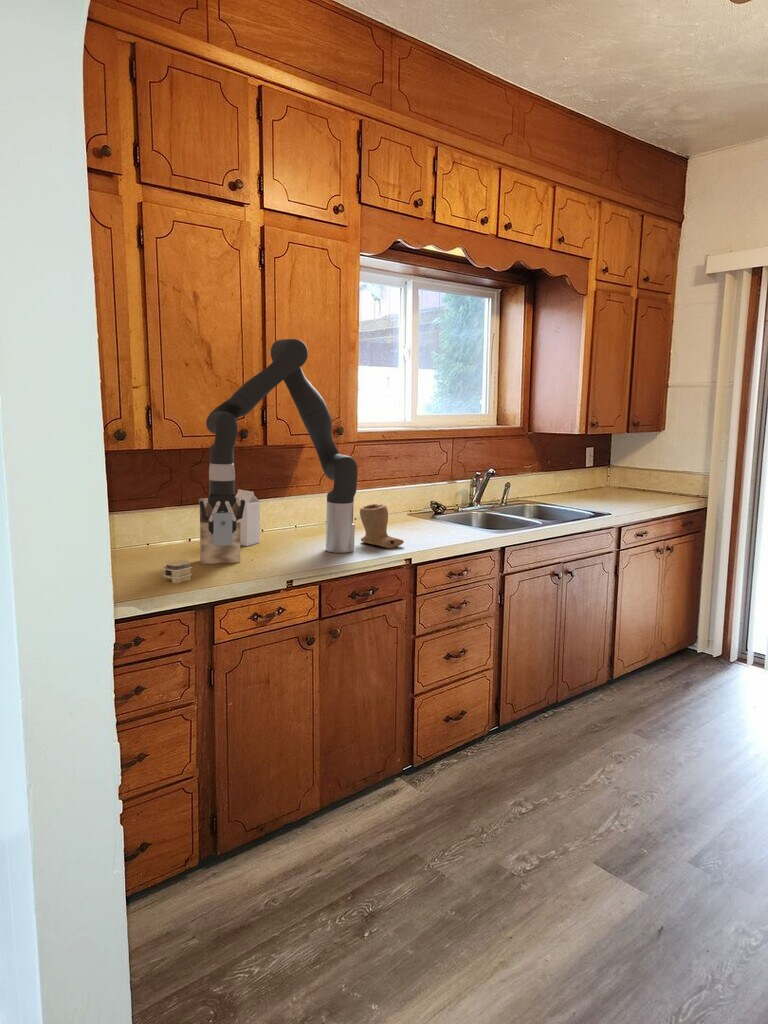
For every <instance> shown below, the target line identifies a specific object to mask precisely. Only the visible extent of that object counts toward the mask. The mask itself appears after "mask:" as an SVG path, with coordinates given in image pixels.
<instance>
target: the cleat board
mask: <svg viewBox="0 0 768 1024" xmlns="http://www.w3.org/2000/svg"><path fill="white" fill-rule="evenodd" d="M205 499H208V497H206V498H201V497H200V498H199V500H205ZM236 499H239V498H236ZM211 508H212V506H211V505H210V504H209V502H208V503H207V506H206V507H205V512H206V516H209V515H210V512H211ZM232 510H233V512H234V515H238V510H239V506H238V504H237V502H236V503H235V504H234V505H233V507H232ZM199 545H200V546H199V547H200V548H199V551H200V553H199V554H200V560H199V561H200V564H201V565H210V564H211V565H213V564H231V563H233V564H235V563H241V545H240V521H239V519H238V520H237V521H236V531H234V533H232V545H225V546H214V545H213V542H212V534H211V532H209V529H208V521H207V520H203V518H202V514H201V510H200V509H199Z"/></svg>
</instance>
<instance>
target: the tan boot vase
mask: <svg viewBox="0 0 768 1024" xmlns="http://www.w3.org/2000/svg"><path fill="white" fill-rule="evenodd" d="M359 509H360V510H359V516H360V519H361V523H362V525H363V528H364V531H365V535H364V536H363V537H361V538H360V541H361V542H363V543H366V544H370V545H374V546H377V547H381V548H382V547H383V548H387V549H393V548H397V547H400V546H401V545H403V544H404V543H405V542H404V540H403V539H400V538H397V537H392V536H390V535H388V533H387V529H388V521H389V510H388V507H387V506H386V504H385V503H381V504H377V503H372V504H367V505H364V506H361V507H360V508H359Z"/></svg>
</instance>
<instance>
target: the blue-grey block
mask: <svg viewBox="0 0 768 1024" xmlns="http://www.w3.org/2000/svg"><path fill="white" fill-rule="evenodd" d="M211 510H212V508H211ZM212 542H213V545H214V546H225V545H232V513H229V511H228V512H224V511H221V512H216V513H214V514H213V534H212Z"/></svg>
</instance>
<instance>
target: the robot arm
mask: <svg viewBox="0 0 768 1024" xmlns="http://www.w3.org/2000/svg"><path fill="white" fill-rule="evenodd" d="M308 356H309V350H308V347H307V345H306V344H305V342H303V341H302V340H300V339H298V338H283V339H277V340H276V341H275V342H273V343H272V345H271V347H270V358H271V361H272V362H271V363H270V364H268V366H266V367H265V368H264V369H263V370H261V371H259V372H258V373H256V374H255V375H254V376H252V377H251V378H250V379H249V380H247V381H245V382H244V384H242V385H241V386H240V387H239V388H238V389H237V390H236V391H235V392H234V393H233V394H232V396H231V397H230V398H228V399H226V400H225V401H224V402H222V403H221V404H220V405H218V406H217V407H216V408H214V409H213V410H212V411H211V412H209V414H208V416H207V418H206V421H205V426H206V429H207V430H208V431H209V432H210V433H212V434H214V435H215V438H214V443H213V444H211V446H210V448H209V468H208V474H209V475H208V480H209V481H208V485H209V486H208V487H209V489H208V491H209V492H208V493H209V494H208V497H207V498H208V499H205V500H200V499H199V500H198V504H199V511H200V510H201V514H202V518H203V520H207V521H208V529H209V532H211V534H213V514H214V513H216V512H221V511H224V512H228V511H229V513H232V533H234V531H236V521H237V520H238V519H242V516H243V511H244V506H245V500H244V499H236V497H235V496H236V490H235V489H236V488H235V487H236V472H235V470H236V469H235V451H234V450H235V446H236V445H235V444H236V441H237V437H238V428H239V424H238V421H237V420H238V419H239V418H241V417H243V416H247V415H248V414H249V413H250V412H252V410H253V409H254V408H255V407H256V406H257V405H258V404H259V403H260V402H261V401H262V400H263V399H264V398H265V397H266V396H267V395H268V394H269V393H270V392H271V391H272V390H273V389H274V388H276V387H277V386H278V385H279V384H280V383H281V382H284V384H285V386H286V388H287V390H288V392H289V395H290V396H291V398H292V400H293V402H294V405H295V406H296V409H297V413H298V414H299V417H300V419H301V421H302V423H303V424H304V427H305V429H306V430H307V433H308V435H309V438H310V440H311V442H312V443H313V446H314V449H315V451H316V454H317V456H318V459H319V462H320V466H321V468H322V471H323V473H324V475H325V476H326V478H328V479H329V480H331V481H333V489H332V490H331V491H329V492H327V494H326V514H325V516H326V520H325V521H326V522H325V523H326V526H325V551H327V552H329V553H333V554H334V553H335V554H347V553H350V552H355V527H356V525H355V524H354V505H355V504H354V499H355V496H356V493H357V487H358V485H357V484H358V474H359V473H358V471H359V470H358V469H359V468H358V464H357V461H356V459H355V458H353V457H352V456H350V455H346V454H341V453H340V451H339V450H338V448H337V445H336V444H335V441H334V439H333V421H332V420H333V419H332V416H331V412H330V411H329V408H328V406H327V403H326V402H325V400H324V398H323V396H322V395H321V394H320V392H319V391H318V390H317V389H316V388H315V387H314V385H312V383H311V382H310V381H309V380H308V378H307V377H306V376H305V373H304V372H303V369H302V367H303V366H304V364H305V363H307V359H308ZM208 502H209V504H210V505H211V506H212V510H211V512H210V515H209V516H206V512H205V507H206V506H207V503H208ZM236 502H237V504H238V506H239V510H238V515H234V512H233V510H232V507H233V505H234V504H235V503H236Z"/></svg>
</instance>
